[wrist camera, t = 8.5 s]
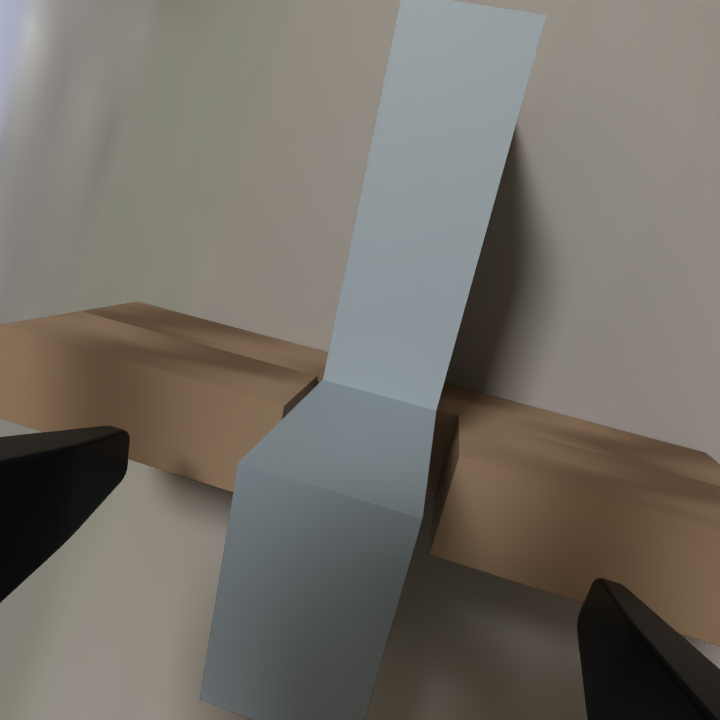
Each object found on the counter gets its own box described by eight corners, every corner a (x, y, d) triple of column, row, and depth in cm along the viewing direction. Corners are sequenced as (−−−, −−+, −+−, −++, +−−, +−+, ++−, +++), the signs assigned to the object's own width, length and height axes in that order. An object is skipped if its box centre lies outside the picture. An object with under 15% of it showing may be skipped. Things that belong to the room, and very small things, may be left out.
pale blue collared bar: (422, 88, 13) (352, -239, 4) (512, 104, 12) (633, -214, 4) (302, 621, 18) (154, 978, 9) (364, 643, 17) (273, 1036, 9)
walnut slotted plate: (706, 452, 13) (842, 565, 9) (673, 524, 14) (783, 666, 9) (137, 301, 16) (-1, 324, 11) (131, 368, 17) (-2, 417, 12)
